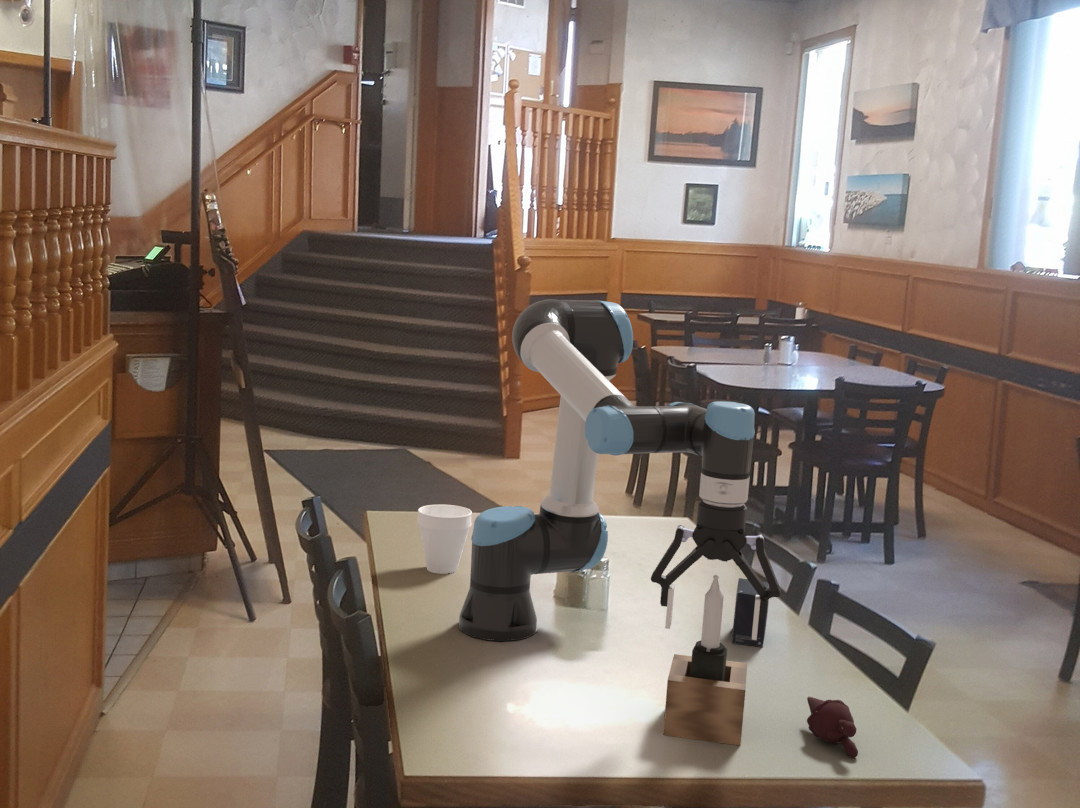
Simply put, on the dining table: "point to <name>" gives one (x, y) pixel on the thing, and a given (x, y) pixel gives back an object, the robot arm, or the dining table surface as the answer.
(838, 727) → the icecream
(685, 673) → the well block
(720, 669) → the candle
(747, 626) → the small box
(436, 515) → the cup
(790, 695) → the dining table surface
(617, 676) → the dining table surface
